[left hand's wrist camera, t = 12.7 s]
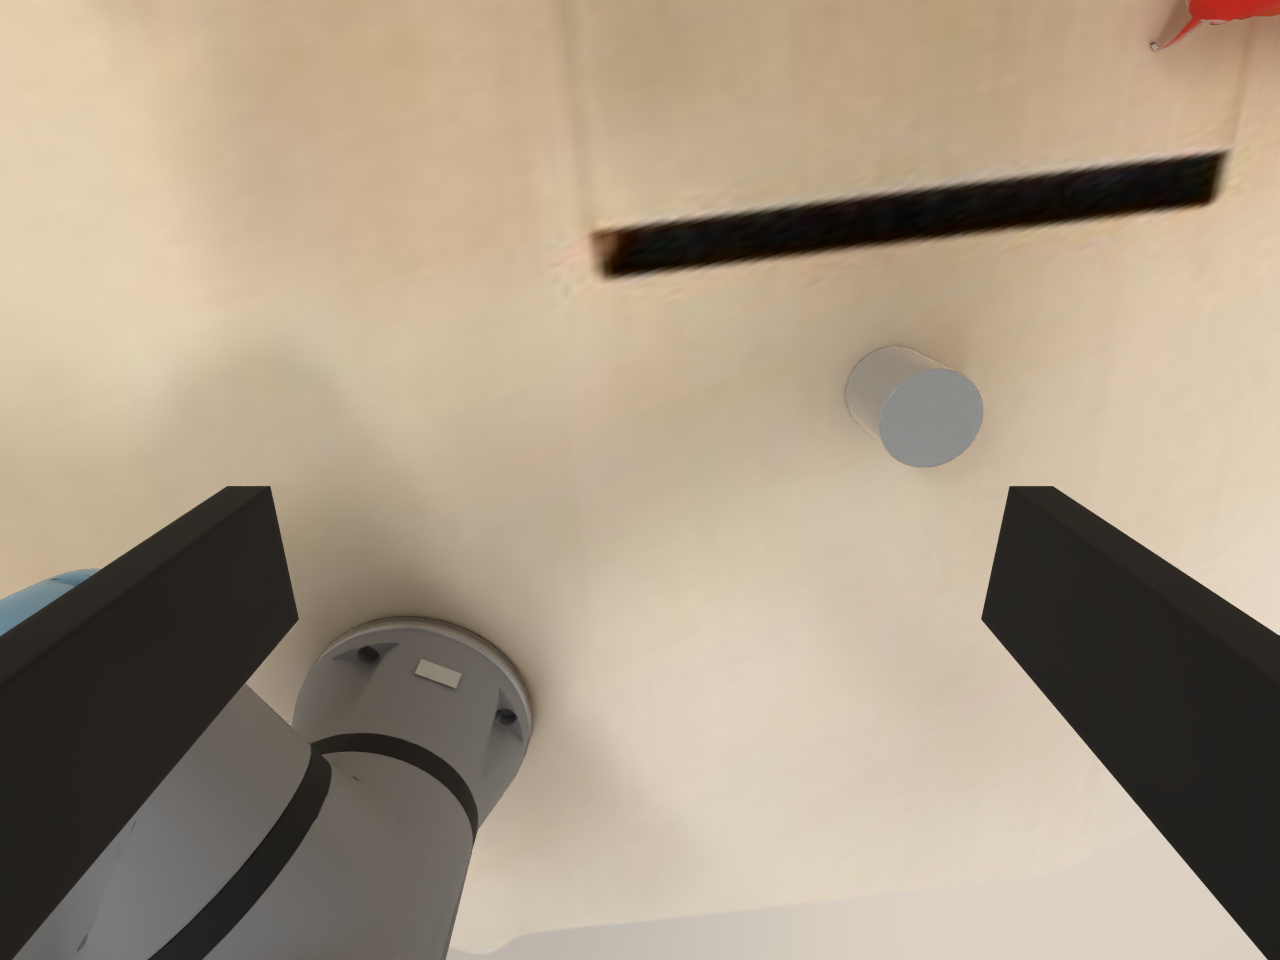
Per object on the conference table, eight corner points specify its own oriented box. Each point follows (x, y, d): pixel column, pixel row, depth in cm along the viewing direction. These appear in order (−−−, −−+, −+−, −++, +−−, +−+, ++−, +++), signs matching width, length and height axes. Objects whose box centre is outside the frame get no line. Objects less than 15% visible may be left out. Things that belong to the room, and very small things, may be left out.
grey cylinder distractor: (897, 447, 40) (939, 485, 34) (827, 405, 39) (858, 437, 33) (952, 374, 38) (1005, 401, 33) (880, 328, 37) (923, 349, 32)
